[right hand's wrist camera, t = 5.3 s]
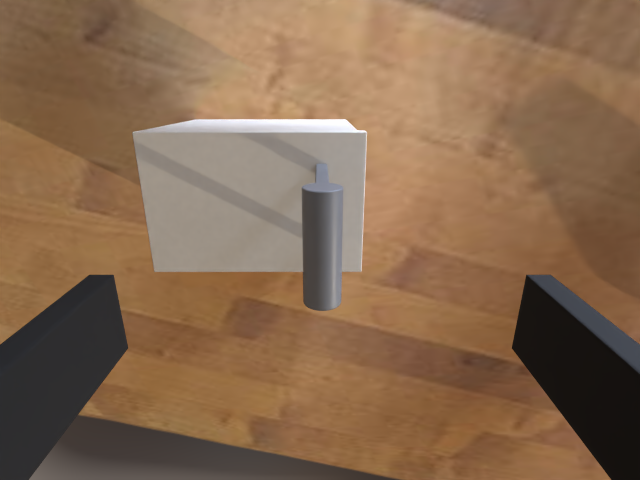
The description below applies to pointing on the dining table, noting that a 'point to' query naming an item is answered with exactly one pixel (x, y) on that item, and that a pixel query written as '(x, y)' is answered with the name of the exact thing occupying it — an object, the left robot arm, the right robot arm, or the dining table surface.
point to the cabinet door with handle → (256, 203)
